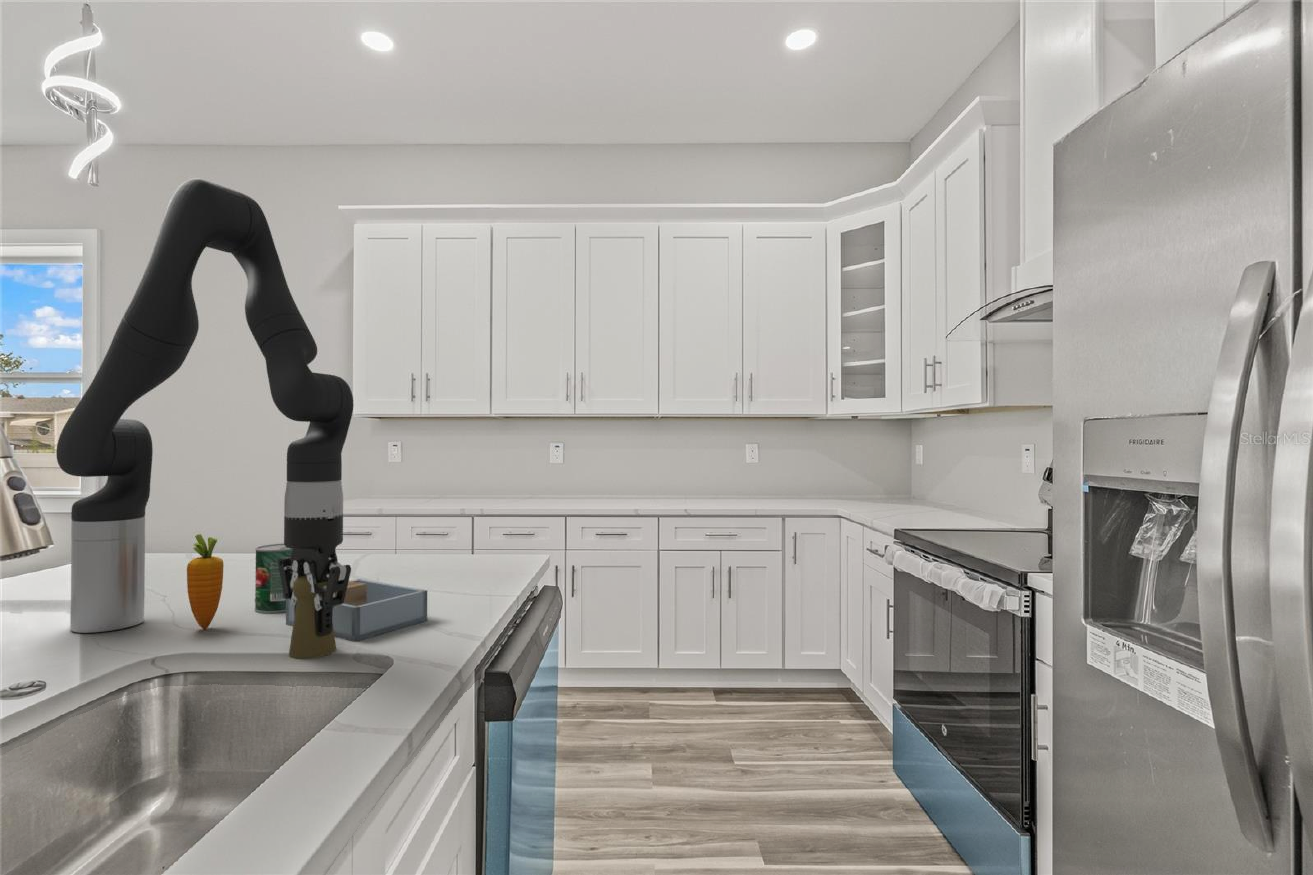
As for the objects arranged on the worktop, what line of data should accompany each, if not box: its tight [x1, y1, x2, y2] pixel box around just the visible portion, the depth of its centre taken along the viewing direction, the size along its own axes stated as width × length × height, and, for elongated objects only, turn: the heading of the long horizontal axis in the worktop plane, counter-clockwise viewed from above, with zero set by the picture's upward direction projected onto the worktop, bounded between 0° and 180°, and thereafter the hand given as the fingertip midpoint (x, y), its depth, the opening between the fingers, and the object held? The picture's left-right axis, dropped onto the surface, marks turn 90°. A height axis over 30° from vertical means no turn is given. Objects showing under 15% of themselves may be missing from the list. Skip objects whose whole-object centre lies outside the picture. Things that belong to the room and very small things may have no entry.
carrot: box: [186, 533, 224, 630], centre depth 107 cm, size 5×5×15 cm
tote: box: [285, 578, 428, 642], centre depth 111 cm, size 18×14×5 cm
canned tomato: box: [254, 542, 293, 614], centre depth 120 cm, size 8×8×11 cm
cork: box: [288, 576, 337, 660], centre depth 96 cm, size 6×6×11 cm
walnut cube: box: [335, 580, 367, 606], centre depth 113 cm, size 5×5×5 cm
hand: (313, 632), depth 96 cm, fingers closed on cork, 4 cm apart
